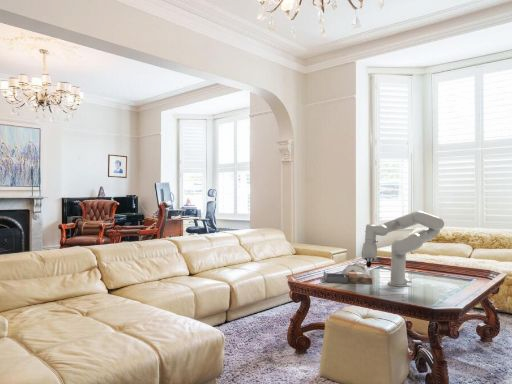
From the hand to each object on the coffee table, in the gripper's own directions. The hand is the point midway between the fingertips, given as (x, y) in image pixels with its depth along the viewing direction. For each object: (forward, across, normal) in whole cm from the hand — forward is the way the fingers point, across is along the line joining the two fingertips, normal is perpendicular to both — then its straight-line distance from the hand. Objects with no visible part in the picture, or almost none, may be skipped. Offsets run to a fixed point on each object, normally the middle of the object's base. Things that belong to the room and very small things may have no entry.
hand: (368, 267), depth 272 cm
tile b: (+7, +11, 0) cm, 13 cm away
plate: (+11, +7, 0) cm, 13 cm away
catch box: (+11, +23, 0) cm, 26 cm away
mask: (+11, +2, -28) cm, 30 cm away
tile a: (+7, +6, 0) cm, 9 cm away
